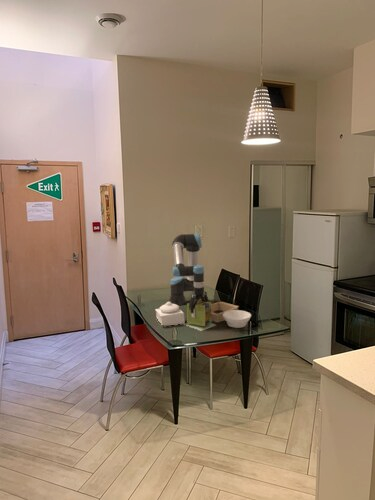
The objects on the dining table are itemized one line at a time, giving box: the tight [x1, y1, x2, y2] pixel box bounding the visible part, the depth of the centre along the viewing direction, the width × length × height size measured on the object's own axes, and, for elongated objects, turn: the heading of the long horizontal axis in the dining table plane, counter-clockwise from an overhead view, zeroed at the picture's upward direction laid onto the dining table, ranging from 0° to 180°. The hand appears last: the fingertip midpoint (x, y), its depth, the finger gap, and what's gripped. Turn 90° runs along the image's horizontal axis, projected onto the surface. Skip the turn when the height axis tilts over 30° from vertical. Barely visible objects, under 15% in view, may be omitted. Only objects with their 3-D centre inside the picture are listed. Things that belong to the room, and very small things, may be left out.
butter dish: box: [154, 301, 186, 326], centre depth 286 cm, size 18×18×16 cm
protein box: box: [186, 300, 212, 326], centre depth 278 cm, size 10×15×16 cm
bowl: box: [223, 309, 252, 329], centre depth 277 cm, size 21×21×8 cm
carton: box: [211, 301, 240, 323], centre depth 298 cm, size 21×28×6 cm
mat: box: [182, 322, 217, 332], centre depth 279 cm, size 19×16×1 cm
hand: (199, 315), depth 278 cm, fingers closed on protein box, 12 cm apart
